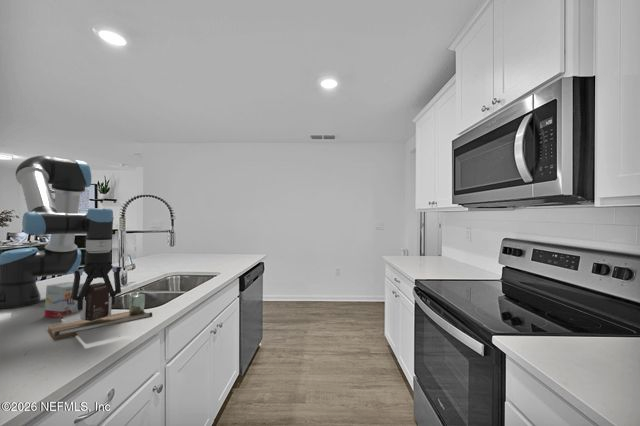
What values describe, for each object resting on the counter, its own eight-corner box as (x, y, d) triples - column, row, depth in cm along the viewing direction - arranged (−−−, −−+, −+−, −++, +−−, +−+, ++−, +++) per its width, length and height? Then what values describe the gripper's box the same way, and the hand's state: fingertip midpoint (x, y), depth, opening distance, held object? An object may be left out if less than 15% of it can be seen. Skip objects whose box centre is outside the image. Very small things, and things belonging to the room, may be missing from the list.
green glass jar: (127, 313, 117) (127, 295, 117) (141, 310, 121) (142, 293, 121) (131, 316, 114) (132, 297, 114) (146, 313, 118) (146, 295, 118)
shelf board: (48, 330, 102) (48, 322, 102) (140, 312, 123) (140, 306, 123) (55, 340, 94) (55, 332, 94) (152, 319, 115) (152, 312, 115)
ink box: (62, 318, 113) (63, 286, 113) (43, 316, 115) (45, 285, 115) (84, 312, 122) (85, 282, 122) (66, 310, 123) (68, 281, 124)
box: (92, 321, 104) (93, 286, 104) (83, 320, 106) (83, 285, 106) (109, 316, 110) (110, 282, 110) (100, 314, 111) (100, 281, 112)
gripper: (65, 254, 98) (62, 326, 98) (133, 250, 113) (131, 313, 113) (60, 252, 103) (57, 320, 103) (126, 249, 118) (124, 308, 118)
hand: (96, 316), depth 108 cm, fingers closed on box, 7 cm apart
